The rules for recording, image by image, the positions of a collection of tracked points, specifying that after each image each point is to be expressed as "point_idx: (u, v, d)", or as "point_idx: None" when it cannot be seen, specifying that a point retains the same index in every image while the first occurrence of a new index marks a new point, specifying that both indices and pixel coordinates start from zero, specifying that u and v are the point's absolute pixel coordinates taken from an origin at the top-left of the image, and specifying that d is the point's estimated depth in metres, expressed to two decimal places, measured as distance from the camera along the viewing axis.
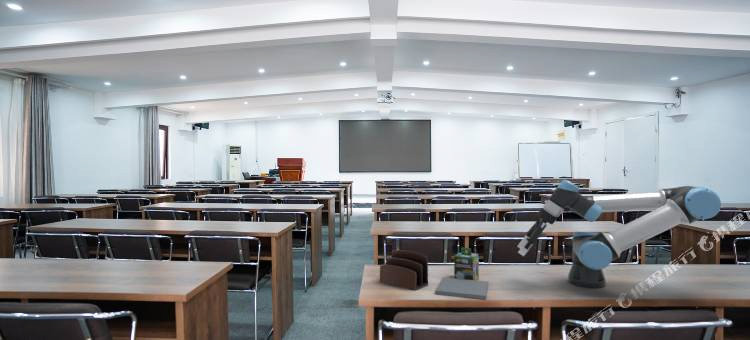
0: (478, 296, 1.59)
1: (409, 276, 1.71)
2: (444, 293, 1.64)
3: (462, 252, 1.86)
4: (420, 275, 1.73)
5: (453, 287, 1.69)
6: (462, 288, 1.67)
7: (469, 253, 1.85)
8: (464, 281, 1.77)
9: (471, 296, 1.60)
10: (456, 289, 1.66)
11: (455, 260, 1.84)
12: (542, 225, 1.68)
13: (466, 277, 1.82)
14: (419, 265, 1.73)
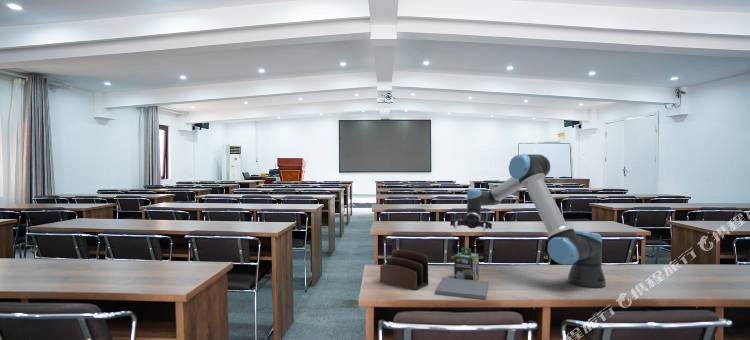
0: (478, 296, 1.59)
1: (409, 276, 1.72)
2: (444, 293, 1.64)
3: (462, 252, 1.86)
4: (420, 275, 1.73)
5: (453, 287, 1.69)
6: (462, 288, 1.67)
7: (469, 253, 1.85)
8: (464, 281, 1.77)
9: (471, 296, 1.60)
10: (456, 289, 1.66)
11: (455, 260, 1.84)
12: None
13: (466, 277, 1.82)
14: (419, 265, 1.74)
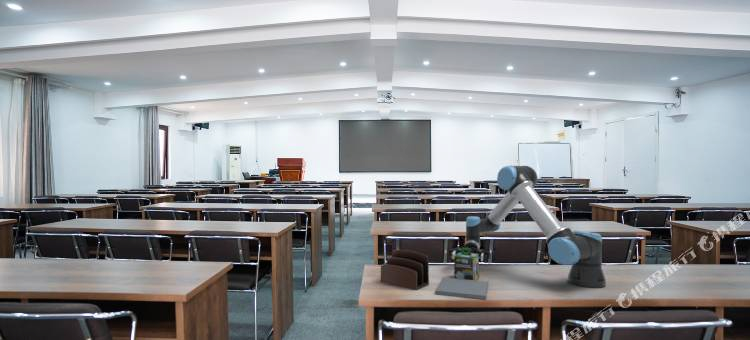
0: (478, 296, 1.59)
1: (410, 276, 1.72)
2: (444, 293, 1.64)
3: (462, 252, 1.86)
4: (421, 275, 1.74)
5: (453, 287, 1.69)
6: (462, 288, 1.67)
7: (469, 253, 1.85)
8: (464, 281, 1.77)
9: (471, 296, 1.60)
10: (456, 289, 1.66)
11: (455, 260, 1.84)
12: None
13: (466, 277, 1.82)
14: (420, 265, 1.74)
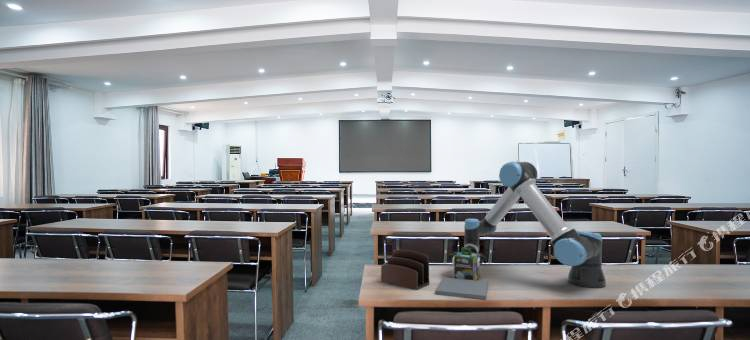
0: (478, 296, 1.59)
1: (410, 275, 1.72)
2: (444, 293, 1.64)
3: (462, 252, 1.86)
4: (421, 274, 1.74)
5: (453, 287, 1.69)
6: (462, 288, 1.67)
7: (469, 253, 1.85)
8: (464, 281, 1.77)
9: (471, 296, 1.60)
10: (456, 289, 1.66)
11: (455, 260, 1.84)
12: None
13: (466, 277, 1.82)
14: (420, 264, 1.74)
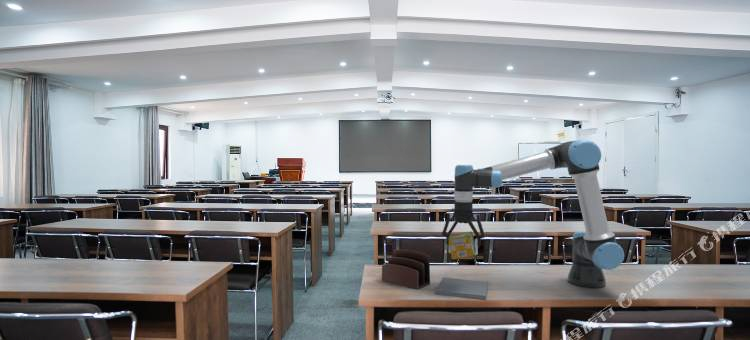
0: (478, 296, 1.59)
1: (411, 275, 1.73)
2: (444, 293, 1.64)
3: None
4: (422, 274, 1.75)
5: (453, 287, 1.69)
6: (462, 288, 1.67)
7: None
8: (464, 281, 1.77)
9: (471, 296, 1.60)
10: (456, 289, 1.66)
11: None
12: (479, 217, 1.68)
13: None
14: (421, 264, 1.75)
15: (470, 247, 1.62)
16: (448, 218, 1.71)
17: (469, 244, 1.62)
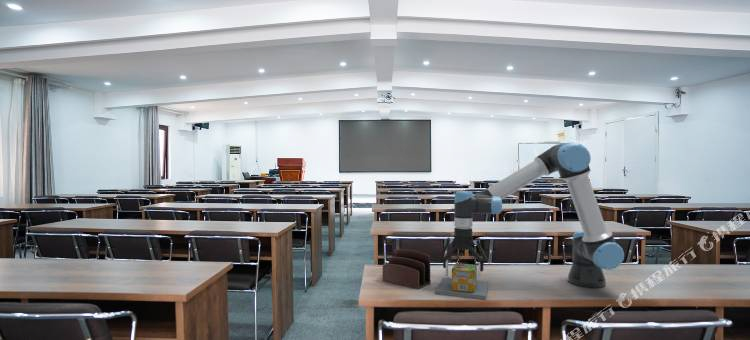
0: (478, 296, 1.59)
1: (412, 275, 1.73)
2: (444, 293, 1.64)
3: None
4: (423, 274, 1.75)
5: None
6: None
7: None
8: None
9: (471, 296, 1.60)
10: None
11: None
12: (479, 242, 1.68)
13: None
14: (422, 264, 1.75)
15: (472, 283, 1.61)
16: (447, 243, 1.72)
17: (472, 280, 1.62)
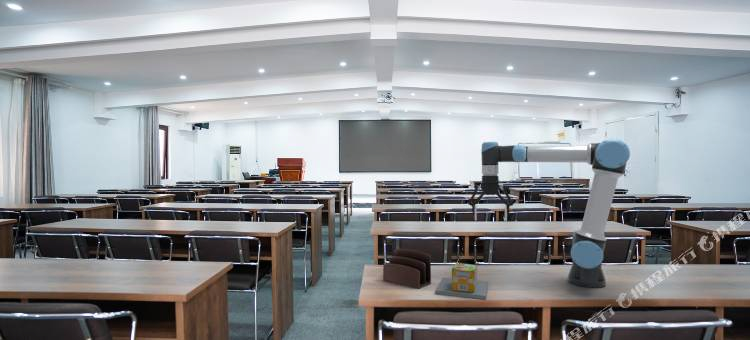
0: (478, 296, 1.59)
1: (412, 275, 1.74)
2: (444, 293, 1.64)
3: None
4: (423, 274, 1.75)
5: None
6: None
7: None
8: None
9: (471, 296, 1.60)
10: None
11: None
12: (505, 187, 1.86)
13: None
14: (422, 264, 1.76)
15: (472, 283, 1.61)
16: (476, 190, 1.88)
17: (472, 280, 1.62)
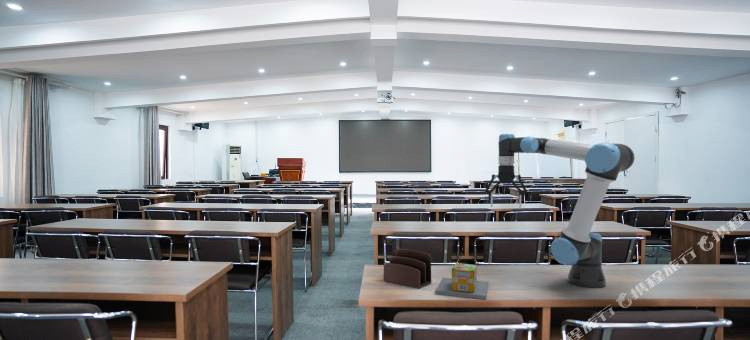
0: (478, 296, 1.59)
1: (413, 274, 1.74)
2: (444, 293, 1.64)
3: None
4: (424, 273, 1.76)
5: None
6: None
7: None
8: None
9: (471, 296, 1.60)
10: None
11: None
12: (520, 177, 1.99)
13: None
14: (423, 264, 1.76)
15: (472, 283, 1.61)
16: (492, 178, 2.02)
17: (472, 280, 1.62)
